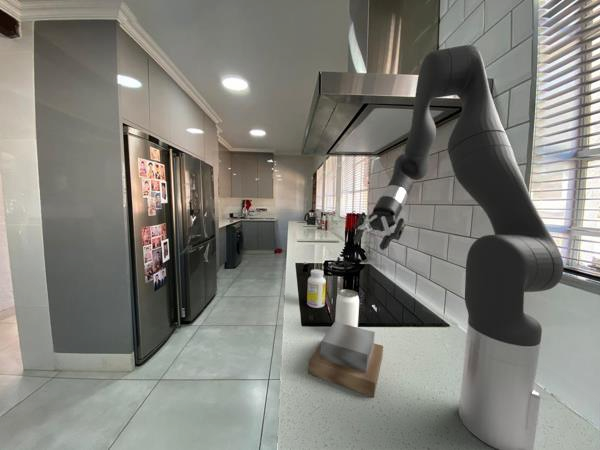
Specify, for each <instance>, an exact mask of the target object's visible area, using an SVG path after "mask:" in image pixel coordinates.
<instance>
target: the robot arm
mask: <svg viewBox="0 0 600 450" xmlns="http://www.w3.org/2000/svg"><path fill="white" fill-rule="evenodd" d="M484 63H485V62H484V60H483V57H482V54H481V52H480V49H478V47H477V46H475V45H472V44H466V45H465V44H464V45H459V46H452V47H448V48H443V49H437V50H433V51H431V52H429V53H428V54H427V55H426V56H425V57H424V59H423V60H422V62H421V65H420V69H419V71H418V72H419V73H418V75H417V77H418V78H417V83H416V89H415V95H414V96H415V97H414V103H413V109H412V110H413V111H412V118H411V126H410V130H409V134H408V136H407V139H406V142H405V143H406V144H405V147H404V153H402V154H400V155H398V157H396V159H395V162H394V164H393V170H392V171H393V172H392V176H391V179H390V181H389V182H388V184H387V186H386V187H385V189H384V190H383V192H382V193H381V195H380V197H379V198H378V200H377V202H376V203H375V206H373V210H372V212H371V214H366V213H365V212H361V214H360V215H359V216H358V217H357V219H356V221H355V222H354V223H353V227H354V229H355V231H356V232H355V234H354V235H353V237H352V238H353V242H354V244H359V243H360V241H361V239H362V238H363V236H364V233H366V232H371V231H372V230H373V231H379V232H383V231H385V234H386V235H384V236H383V238H382V240H381V242H380V244H379V248H380V250H382V251H385V250H386V249H387V248H388V246H389V245H390V243H391V241H392V240H396V241H399V240H400V239H401V236H402V234H403V232H404V229H405V227H406V222H405V219H404V218H402V217H401V218H399V219H398V217H399V216H400V214H401V212H402V210H403V208H404V206H405V204H406V203H407V198H408V197H409V194H410V193H411V191H412V189H413V186H414V182H413V180H415V181H419V180H421V179H423V178H425V176H426V174H427V173H428V170H429V165H430V164H429V156H430V152H431V149H432V147H433V145H434V142H435V140H436V137H437V128H436V124H435V121H434V118H433V116H432V114H431V112H430V105H431V102H432V100H433V99H438V98H446V97H450V96H451V97H452V96H457V97H458V98H459V100H460V103H461V109H462V110H461V112H460V115H459V117H458V119H457V121H456V124H455V125H454V127H453V130H452V132H451V134H450V136H449V138H448V143H447V152H448V157H449V160H450V164H451V167H452V170H453V174H454V176H455V178H456V180H457V181H458V183H459V184H460V185H461V186H462V188H463V189H464V190H465V191H466V192H467V193H468V194H469V196H470V197H471V198H472V199H473V201H475V202H476V203H477V204H478V205H479V206H480V207H481V208H482V210H483V211H484V212H485V214H486V215H487V218H488V219H489V222H490V224H491V227H492V229H493V232H494V234H488V235H487V234H486V235H484V236H480V237H479V238H477V239H475V241H474V242H473V243H471V246H470V247H469V249H468V252H467V255H466V261H465V282H464V283H465V285H464V303H465V308H466V311H467V314H468V315H467V317H468V318H467V327H466V339H465V348H464V357H463V365H462V366H463V367H462V374H461V375H462V376H461V383H460V394H459V395H460V396H459V403H458V404H459V405H458V416H459V419H460V421H461V422H462V424H463V425H464V427H466V429H467V430H468V431H469V432H470V433H471V434H473V436H475V437H476V438H477V439H478V440H480V441H482V442H483V443H485V444H487V445H489V446H490V447H492V448H494V449H496V450H534V449H535V442H536V434H537V427H538V420H539V419H538V418H539V413H540V412H539V411H540V404H541V395H540V393H539V392H538V391H537V389H536V380H537V374H538V373H537V372H538V371H537V370H538V364H539V357H540V356H539V355H540V348H541V347H540V346H541V342H542V333H543V331H542V330H543V329H542V325H541V323H540V322H539V321H538V320H537V319H536V318H534V317H533V316H531V315H529V314H526V313H525V312H524V308H525V307H524V306H525V305H524V304H525V303H524V301H525V293H534V292H535V293H536V292H543V291H544V292H545V291H549V290H551V289H553V288H555V287H557V285H558V284H559V283H560V281H561V280H562V277H563V274H564V269H565V268H564V261H563V257H562V254H561V252H560V249H559V248H558V245H557V244H556V242H555V240H554V238H553V237H552V235H551V233H550V231H549V229H548V228H547V226H546V224H545V222H544V220H543V219H542V217H541V215H540V214H539V211H538V210H537V208H536V206H535V204H534V202H533V200H532V198H531V195H530V193H529V190H528V188H527V184H526V183H525V179H524V177H523V175H522V172H521V170H520V167H519V165H518V163H517V160H516V157H515V154H514V151H513V148H512V146H511V142H510V141H509V138H508V135H507V133H506V131H505V129H504V127H503V124H502V122H501V119H500V117H499V114H498V111H497V109H496V105H495V102H494V100H493V96H492V93H491V90H490V86H489V85H490V84H489V80H488V76H487V71H486V67H485V64H484ZM395 225H396V226H395ZM393 226H395V228H394V231H393V232H392V231H391V229H390V228H392V227H393Z"/></svg>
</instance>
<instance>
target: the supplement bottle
mask: <svg viewBox="0 0 600 450" xmlns="http://www.w3.org/2000/svg"><path fill="white" fill-rule="evenodd" d="M326 282H327V281H326V278H325V277H324V270H322V269H318V268H317V269H315V268H314V269H311V270H310V276H309V277H308V279H307V292H306V293H307V294H306V295H307V296H306V304H307V305H308V306H309V307H311V308H314V309H315V308H316V309H319V308H323V307H324V306H325V304H326V285H327V284H326Z"/></svg>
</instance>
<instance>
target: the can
mask: <svg viewBox="0 0 600 450" xmlns="http://www.w3.org/2000/svg"><path fill="white" fill-rule="evenodd" d="M359 310H360V298H359V292H357V291H355V290H351V289H339V290H338V294H337V296H336V303H335V321H334V322H337V323H341V324H345V325H349V326H353V327H357V328H359V327H358V326H359V312H360V311H359Z"/></svg>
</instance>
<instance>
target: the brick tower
mask: <svg viewBox="0 0 600 450" xmlns="http://www.w3.org/2000/svg"><path fill="white" fill-rule="evenodd" d="M375 333H376V331H373V330H369V329H365V328H361V327H358V328H357V327H353V326H349V325H345V324H341V323H337V322H335V321H334V322H333V324H332V325H331V327H330V328H329V329H328V331H327V332H326V333H325V335H324V336H323V337H322V339H321V341H320V343H319V344H318V346H317V348H316V349H315V350H314V352H313V354H312V355H311V356H310V357H309V359H308V365H307V366H308V367H307V374H309V375H311V376H314V377H316V378H319V379H322V380H325V381H328V382H331V383H333V384H336V385H339V386H342V387H345V388H347V389H350V390H352V391H355V392H357V393H361V394H364V395H366V396H369V397H372V398H374V397H375V395H376V389H377V386H378V379H379V375H380V372H381V371H380V370H381V365H382V360H383V355H384V354H383V352H384V345H381V344H378V343H375Z"/></svg>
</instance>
